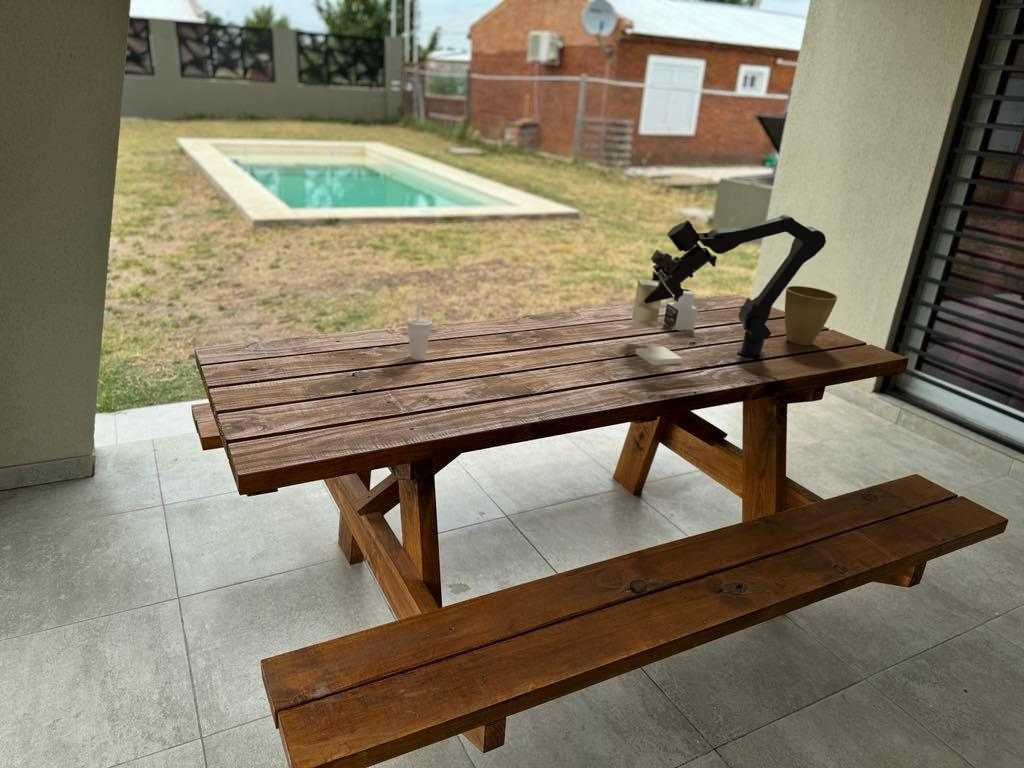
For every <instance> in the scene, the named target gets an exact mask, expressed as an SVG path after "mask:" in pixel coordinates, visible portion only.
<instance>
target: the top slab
mask: <svg viewBox="0 0 1024 768" xmlns="http://www.w3.org/2000/svg"><path fill="white" fill-rule="evenodd" d="M634 354H636V356H638V357H640V358H641V359H643V360H645V361H646V362H647V363H649V364H650V365H652V366H661V365H663V366H664V365H672V364H673V365H677V364H682V362H683V358H682V357H681V356H679V355H678V354H677V353H674V352H673V351H671V350H670V349H668V348H666V347H664V346H657V347H655V346H654V347H639V348H638V347H637V348H635V352H634Z"/></svg>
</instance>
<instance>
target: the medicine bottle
mask: <svg viewBox="0 0 1024 768" xmlns="http://www.w3.org/2000/svg"><path fill="white" fill-rule="evenodd" d="M682 289H683V290H684V292H683V296H681V297H680V298H679V299H677V298H676V297H675V296H674V295H673V297H674V298H673V301H672V302H669V301H668V302H666V308H665V312H664V313H665V314H664V320H663V325H665V324H666V325H667V327H668V326H669V327H670V328H669V327H668V328H669V329H671V328H672V329H673V331H674V330H678V331H679V332H680V331H683V332H684V330H685V332H686V331H694V330H695V327H696V320H697V316H698V312H699V311H698V310H699V309H698V308H697V307H695V306H694V305H693V304H694V299H695V294H696V293H695V292H694V291H693V290H691V289H688V288H682ZM666 325H665V326H666ZM672 329H671V330H672Z"/></svg>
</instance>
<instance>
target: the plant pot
mask: <svg viewBox="0 0 1024 768" xmlns="http://www.w3.org/2000/svg"><path fill="white" fill-rule="evenodd" d="M784 297H785V299H784V325H785V326H784V327H785V328H784V329H785V336H786V340H787V341H789V342H790V343H793V344H796V345H800V346H810V345H812V344H813V343H814V342H815V340H816V339H817V337H818V336H819V334H820V332H821V331H822V330H823V328H824V326H825V325H826V323H827V321H828V320H829V317H830V315H831V313H832V311H833V309H834V307H835V305H836V303H837V300H838V295H836V294H835V293H833V292H831V291H827V290H823V289H820V288H816V287H811V286H801V285H789V286H786V288H785V296H784Z"/></svg>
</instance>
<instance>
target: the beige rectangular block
mask: <svg viewBox="0 0 1024 768" xmlns="http://www.w3.org/2000/svg"><path fill="white" fill-rule="evenodd" d="M658 282H659V281H656V280H652V279H645V278H644V279H642V278H638V280H637V286H636V291H635V299H634V304H633V312H632V316H631V317H632V319H631V320H632V322H633V323H634V326H635V327H644V328H657V327H658V321H659V315H660V310H661V303H662V300H659V301H655V302H651V303H647V304H646V303H645V302H644V300H645V299H646V298H647V297H648V296H649V295H650V294H651V293H652V292H653V291H654V290H655V289H656V288H657V287H658Z"/></svg>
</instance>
